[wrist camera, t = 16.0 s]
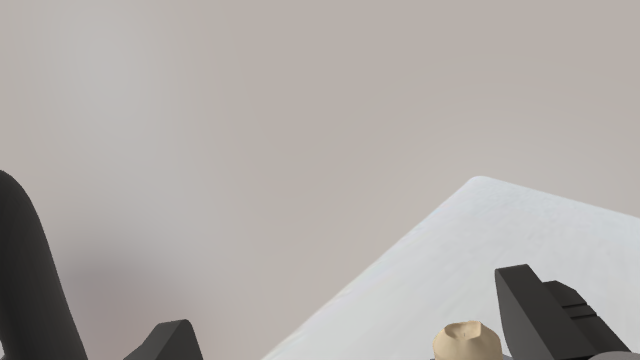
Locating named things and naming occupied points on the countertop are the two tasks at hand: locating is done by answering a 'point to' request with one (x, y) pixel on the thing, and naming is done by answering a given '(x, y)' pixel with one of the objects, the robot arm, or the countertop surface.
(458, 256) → the countertop surface
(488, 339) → the candle
